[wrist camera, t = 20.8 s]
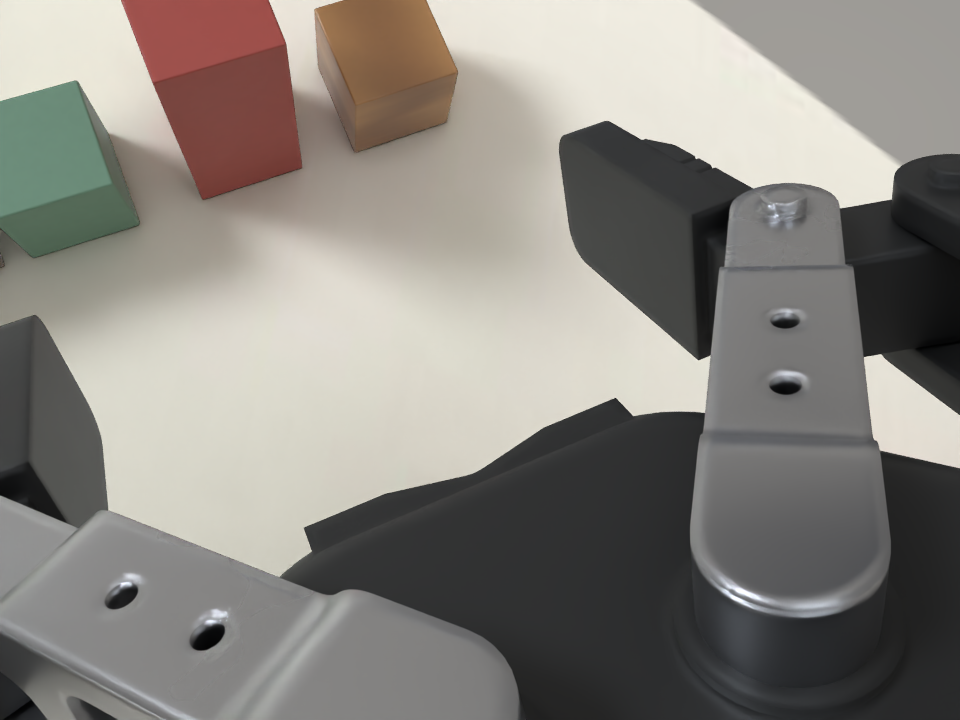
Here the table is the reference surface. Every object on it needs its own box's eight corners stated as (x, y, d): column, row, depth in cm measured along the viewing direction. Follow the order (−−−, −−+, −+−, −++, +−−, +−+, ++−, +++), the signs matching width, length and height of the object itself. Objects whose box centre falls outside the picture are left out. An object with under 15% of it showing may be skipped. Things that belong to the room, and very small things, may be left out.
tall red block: (202, 200, 35) (152, 83, 26) (166, 106, 35) (105, -40, 27) (302, 168, 36) (286, 44, 27) (265, 76, 36) (238, -75, 27)
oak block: (354, 153, 36) (355, 105, 32) (316, 63, 37) (312, 5, 33) (447, 122, 37) (458, 72, 33) (408, 35, 37) (415, -25, 33)
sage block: (32, 259, 33) (-9, 221, 30) (-1, 159, 34) (-46, 109, 30) (140, 225, 34) (114, 183, 30) (106, 129, 35) (76, 76, 31)
